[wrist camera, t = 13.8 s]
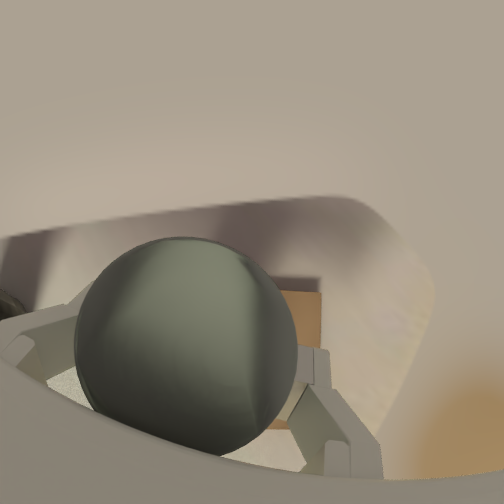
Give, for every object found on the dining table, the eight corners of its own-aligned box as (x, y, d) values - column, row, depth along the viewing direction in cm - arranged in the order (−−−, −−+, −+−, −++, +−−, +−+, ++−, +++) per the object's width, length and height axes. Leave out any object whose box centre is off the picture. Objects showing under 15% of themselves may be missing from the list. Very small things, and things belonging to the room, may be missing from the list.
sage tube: (162, 394, 14) (69, 435, 5) (170, 306, 16) (92, 230, 7) (254, 403, 15) (290, 466, 5) (259, 314, 16) (301, 245, 7)
